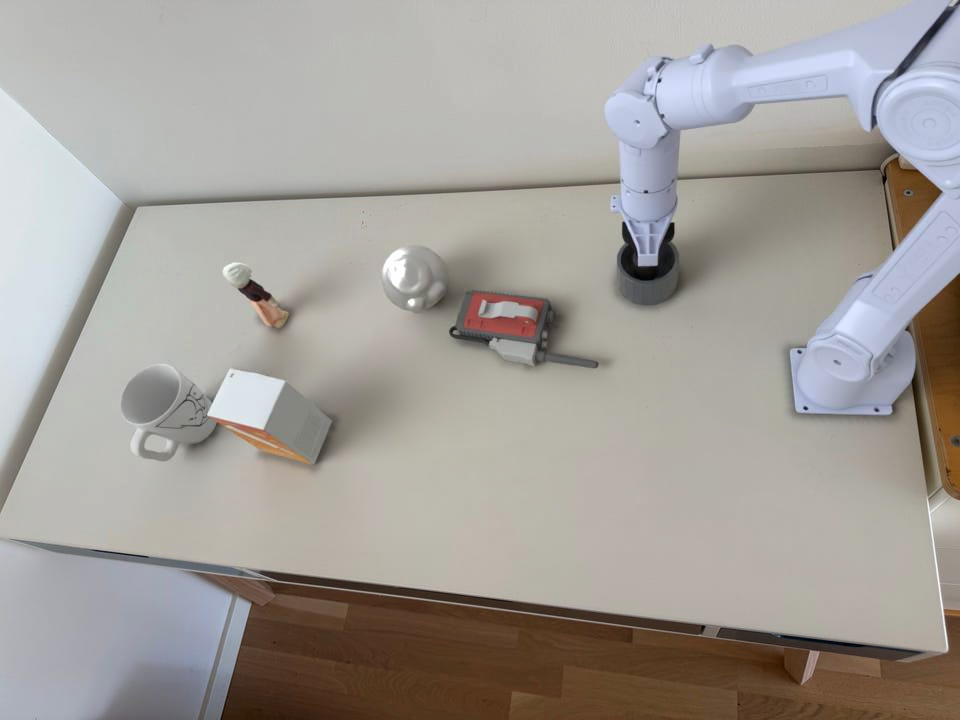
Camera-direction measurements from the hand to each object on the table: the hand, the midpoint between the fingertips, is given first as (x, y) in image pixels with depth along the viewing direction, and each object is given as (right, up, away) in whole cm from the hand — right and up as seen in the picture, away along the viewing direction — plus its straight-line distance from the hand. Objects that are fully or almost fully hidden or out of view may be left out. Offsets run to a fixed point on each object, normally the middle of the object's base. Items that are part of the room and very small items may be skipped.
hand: (647, 250), depth 78 cm
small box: (-44, -23, +7) cm, 50 cm away
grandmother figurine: (-50, -7, +16) cm, 53 cm away
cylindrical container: (+1, -3, +6) cm, 6 cm away
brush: (+1, -2, +4) cm, 4 cm away
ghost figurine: (-28, -5, +12) cm, 31 cm away
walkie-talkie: (-14, -10, +6) cm, 18 cm away
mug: (-59, -23, +11) cm, 65 cm away
